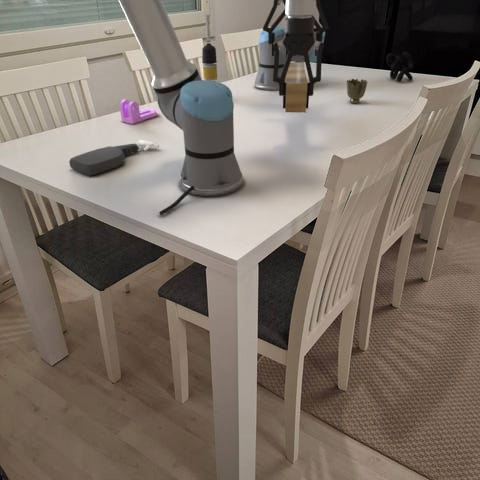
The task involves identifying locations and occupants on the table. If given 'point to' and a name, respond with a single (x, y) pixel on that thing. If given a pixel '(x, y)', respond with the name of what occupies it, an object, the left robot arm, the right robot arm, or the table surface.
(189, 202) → the table surface
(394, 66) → the squiggle
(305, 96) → the bar
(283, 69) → the left robot arm
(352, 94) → the cup
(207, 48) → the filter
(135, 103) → the bracket
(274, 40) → the right robot arm
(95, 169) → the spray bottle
